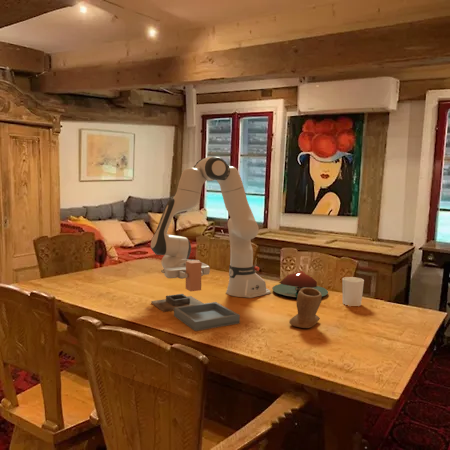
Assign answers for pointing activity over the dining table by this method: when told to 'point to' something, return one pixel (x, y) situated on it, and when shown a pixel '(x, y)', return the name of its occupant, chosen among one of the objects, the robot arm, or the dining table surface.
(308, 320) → the stone cup
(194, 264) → the terracotta block
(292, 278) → the red dome on disc
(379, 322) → the dining table surface
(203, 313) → the tray
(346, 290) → the candle holder
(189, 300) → the holder
